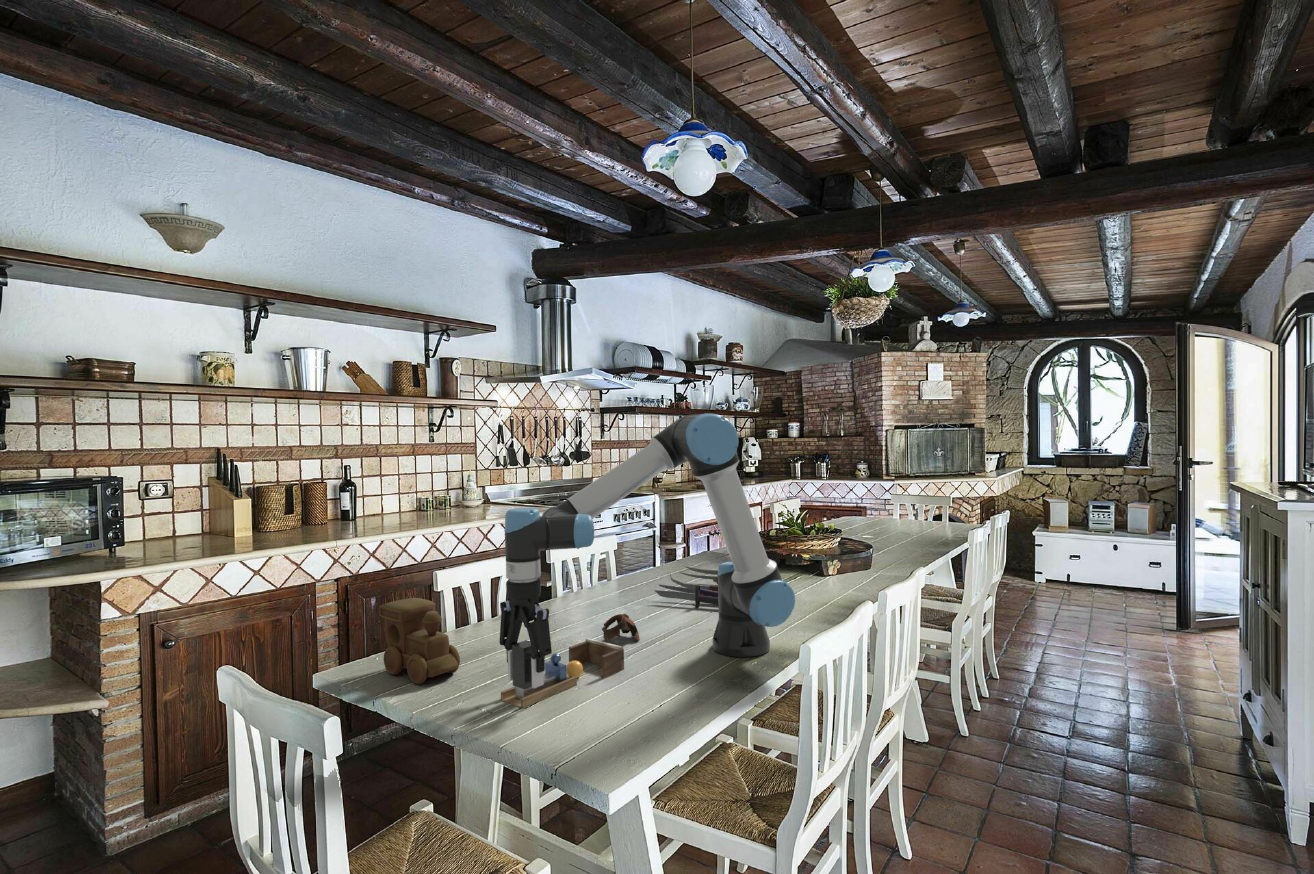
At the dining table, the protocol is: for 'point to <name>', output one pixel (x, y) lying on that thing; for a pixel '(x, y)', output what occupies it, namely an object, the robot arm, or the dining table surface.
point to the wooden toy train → (416, 640)
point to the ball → (574, 669)
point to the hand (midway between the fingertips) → (525, 681)
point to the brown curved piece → (620, 627)
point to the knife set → (694, 589)
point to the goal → (599, 655)
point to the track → (537, 693)
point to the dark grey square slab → (523, 670)
